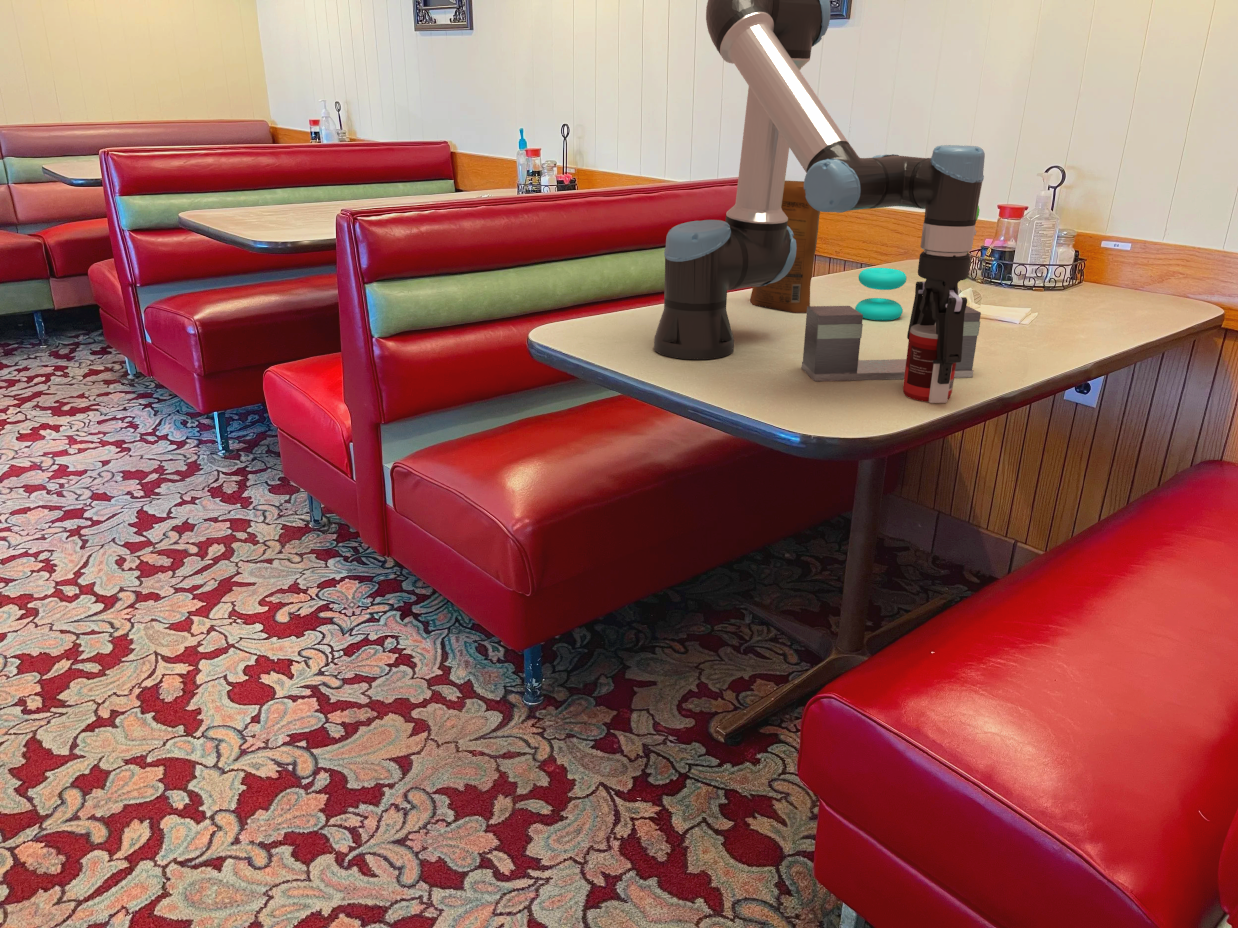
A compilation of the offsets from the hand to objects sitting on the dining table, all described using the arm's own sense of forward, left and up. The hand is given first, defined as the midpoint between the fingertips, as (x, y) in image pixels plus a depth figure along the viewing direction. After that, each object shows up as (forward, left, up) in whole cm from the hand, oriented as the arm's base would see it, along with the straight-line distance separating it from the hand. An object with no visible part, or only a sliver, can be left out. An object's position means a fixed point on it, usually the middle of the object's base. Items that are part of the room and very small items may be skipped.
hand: (926, 393), depth 151 cm
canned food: (0, 0, -1) cm, 1 cm away
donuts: (+12, +55, -1) cm, 56 cm away
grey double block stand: (-2, +13, 0) cm, 13 cm away
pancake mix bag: (-8, +65, -1) cm, 65 cm away
